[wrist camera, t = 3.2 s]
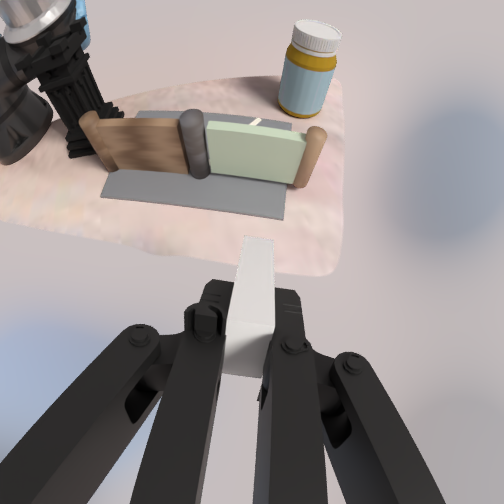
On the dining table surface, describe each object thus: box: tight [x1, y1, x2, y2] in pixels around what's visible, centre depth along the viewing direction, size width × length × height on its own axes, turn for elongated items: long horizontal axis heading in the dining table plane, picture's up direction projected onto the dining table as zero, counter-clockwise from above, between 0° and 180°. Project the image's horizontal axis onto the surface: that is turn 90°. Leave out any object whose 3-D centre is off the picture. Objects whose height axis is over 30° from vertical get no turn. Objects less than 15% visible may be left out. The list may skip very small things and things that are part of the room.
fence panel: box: [206, 121, 327, 188], centre depth 29 cm, size 12×2×9 cm, turn 82°
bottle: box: [278, 20, 342, 118], centre depth 33 cm, size 7×7×15 cm
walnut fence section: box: [79, 109, 210, 180], centre depth 29 cm, size 15×2×10 cm, turn 82°
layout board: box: [101, 111, 292, 220], centre depth 35 cm, size 24×16×1 cm, turn 82°
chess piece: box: [14, 17, 124, 159], centre depth 27 cm, size 8×8×20 cm
